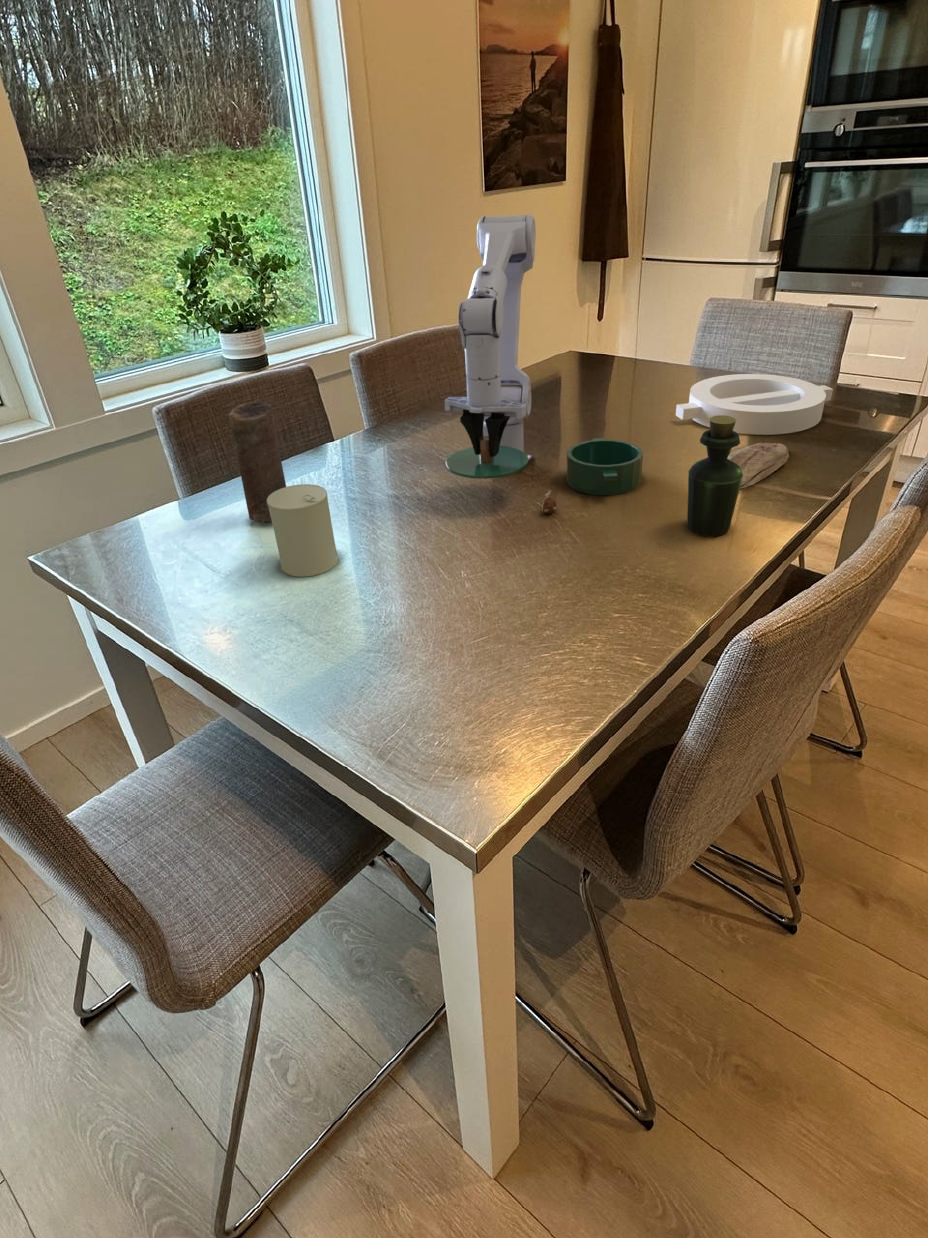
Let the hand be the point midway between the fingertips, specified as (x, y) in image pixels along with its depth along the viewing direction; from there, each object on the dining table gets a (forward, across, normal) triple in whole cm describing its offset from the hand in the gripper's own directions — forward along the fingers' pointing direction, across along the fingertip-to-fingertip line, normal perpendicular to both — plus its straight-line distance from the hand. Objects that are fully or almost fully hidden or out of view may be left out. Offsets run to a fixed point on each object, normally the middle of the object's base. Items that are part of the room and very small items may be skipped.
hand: (486, 453), depth 131 cm
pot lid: (+2, 0, 0) cm, 2 cm away
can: (+9, -16, -32) cm, 37 cm away
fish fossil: (+9, +40, +29) cm, 50 cm away
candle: (+9, -33, -21) cm, 40 cm away
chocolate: (+9, +13, -2) cm, 16 cm away
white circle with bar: (+9, +36, +62) cm, 72 cm away
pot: (+8, +17, +15) cm, 24 cm away
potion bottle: (+9, +39, +2) cm, 40 cm away
